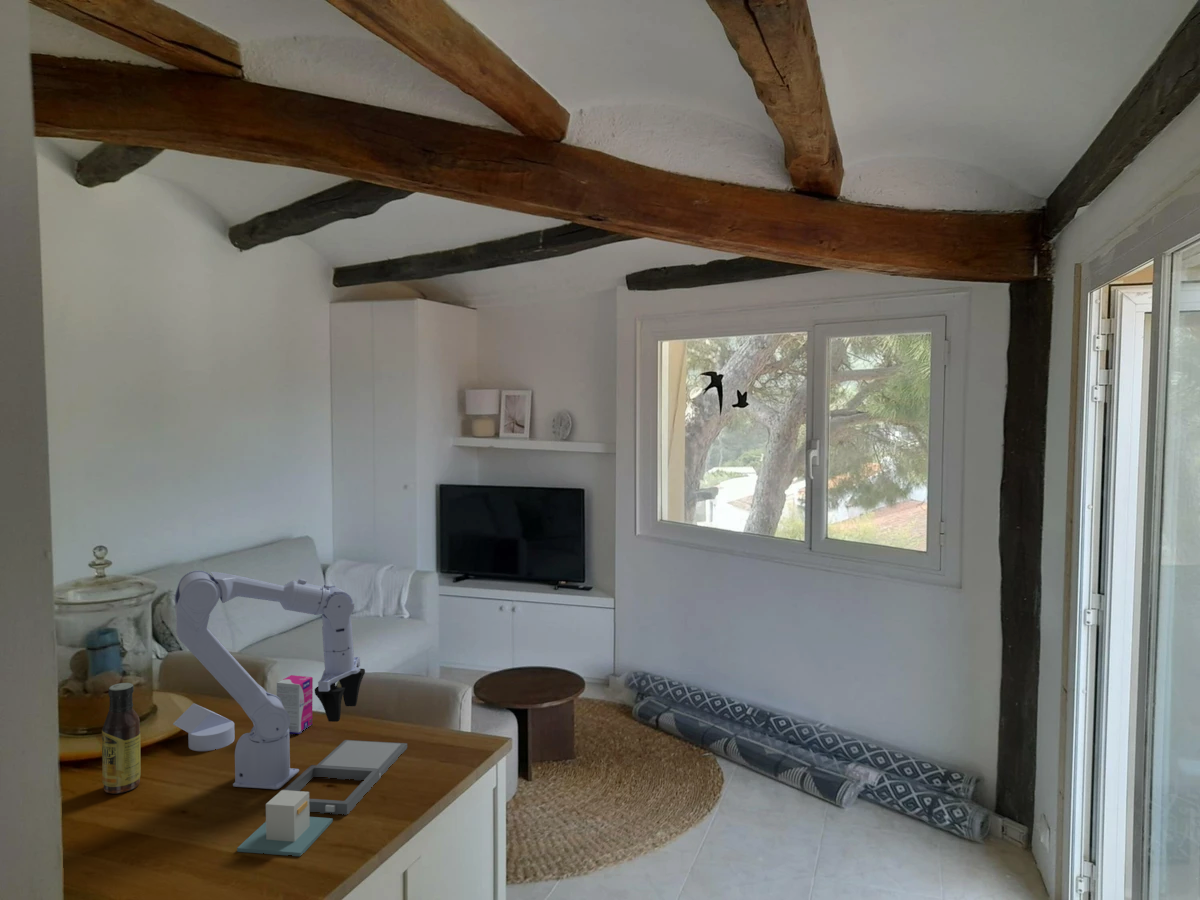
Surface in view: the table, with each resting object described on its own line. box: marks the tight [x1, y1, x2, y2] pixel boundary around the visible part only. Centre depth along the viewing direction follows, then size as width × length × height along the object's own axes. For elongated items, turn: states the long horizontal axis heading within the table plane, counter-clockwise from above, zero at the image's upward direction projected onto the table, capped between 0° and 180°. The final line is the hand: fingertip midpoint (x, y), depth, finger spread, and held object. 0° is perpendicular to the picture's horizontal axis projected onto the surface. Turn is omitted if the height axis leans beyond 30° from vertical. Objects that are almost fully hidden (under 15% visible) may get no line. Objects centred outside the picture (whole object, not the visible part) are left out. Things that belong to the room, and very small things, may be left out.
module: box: [265, 789, 311, 842], centre depth 133 cm, size 5×5×6 cm
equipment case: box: [283, 739, 408, 816], centre depth 155 cm, size 14×29×2 cm, turn 172°
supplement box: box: [276, 674, 314, 735], centre depth 178 cm, size 6×6×12 cm
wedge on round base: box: [172, 703, 236, 752], centre depth 173 cm, size 9×7×13 cm
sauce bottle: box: [101, 682, 142, 795], centre depth 150 cm, size 6×6×20 cm
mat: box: [236, 816, 334, 857], centre depth 133 cm, size 11×11×1 cm
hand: (342, 713), depth 160 cm, fingers open, 7 cm apart
